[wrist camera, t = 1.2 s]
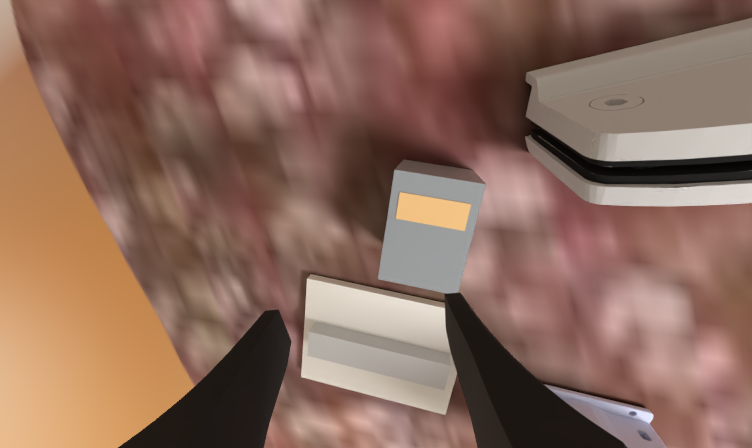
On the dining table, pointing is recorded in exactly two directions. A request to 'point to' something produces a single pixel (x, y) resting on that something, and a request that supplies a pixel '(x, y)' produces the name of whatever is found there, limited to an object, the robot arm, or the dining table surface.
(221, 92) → the dining table surface
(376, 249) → the dining table surface
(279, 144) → the dining table surface
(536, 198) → the dining table surface
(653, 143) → the light grey flat block
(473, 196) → the module
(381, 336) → the rail board
